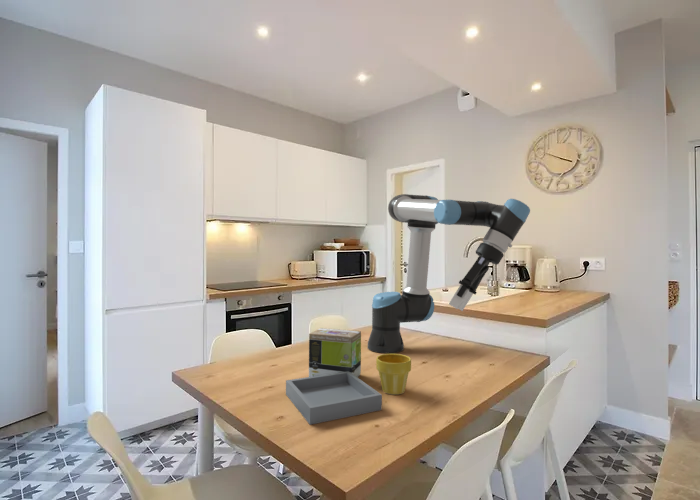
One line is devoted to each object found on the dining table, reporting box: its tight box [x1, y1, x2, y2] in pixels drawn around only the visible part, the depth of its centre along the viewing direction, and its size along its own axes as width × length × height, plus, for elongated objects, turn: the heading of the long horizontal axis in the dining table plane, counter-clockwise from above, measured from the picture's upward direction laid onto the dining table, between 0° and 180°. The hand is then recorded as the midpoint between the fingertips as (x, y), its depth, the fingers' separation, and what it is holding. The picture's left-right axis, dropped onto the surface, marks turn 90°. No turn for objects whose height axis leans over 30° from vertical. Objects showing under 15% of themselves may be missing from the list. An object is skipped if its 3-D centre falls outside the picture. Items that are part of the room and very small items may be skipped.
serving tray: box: [285, 371, 383, 426], centre depth 103 cm, size 20×20×4 cm
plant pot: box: [375, 353, 412, 396], centre depth 112 cm, size 10×10×10 cm
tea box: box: [308, 327, 362, 378], centre depth 123 cm, size 15×10×15 cm
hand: (455, 307), depth 114 cm, fingers open, 13 cm apart
